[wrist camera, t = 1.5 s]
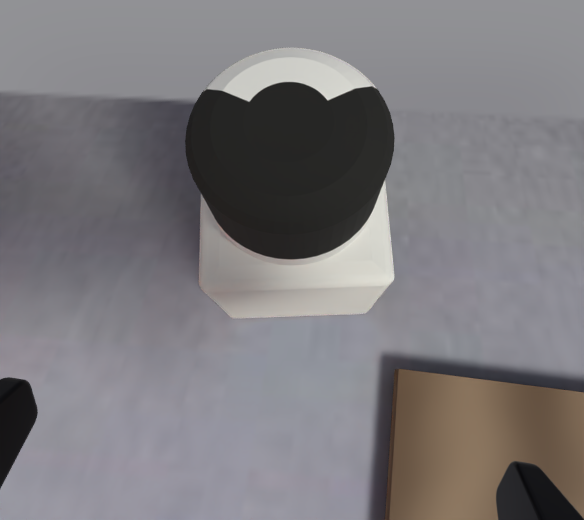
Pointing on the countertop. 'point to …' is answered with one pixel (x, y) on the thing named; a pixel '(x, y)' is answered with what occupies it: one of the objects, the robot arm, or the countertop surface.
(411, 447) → the walnut board
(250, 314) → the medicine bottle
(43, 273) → the countertop surface
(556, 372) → the countertop surface
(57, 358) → the countertop surface
